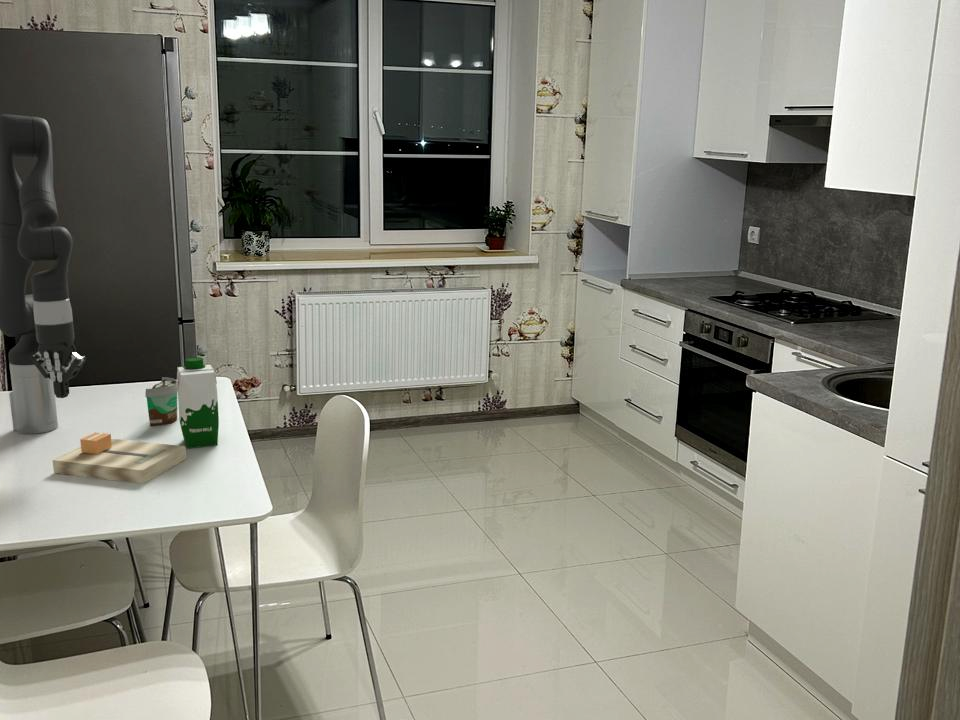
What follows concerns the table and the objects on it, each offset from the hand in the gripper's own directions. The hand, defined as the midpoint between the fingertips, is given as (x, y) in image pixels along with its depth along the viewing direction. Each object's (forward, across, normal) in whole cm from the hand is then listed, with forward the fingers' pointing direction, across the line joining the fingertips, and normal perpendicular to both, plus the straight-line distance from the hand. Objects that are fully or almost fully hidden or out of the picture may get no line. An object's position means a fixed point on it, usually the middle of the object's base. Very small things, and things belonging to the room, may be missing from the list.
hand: (62, 397), depth 201 cm
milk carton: (+15, -22, -19) cm, 32 cm away
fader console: (+15, -14, 0) cm, 20 cm away
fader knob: (+12, -8, 0) cm, 14 cm away
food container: (+15, -5, -32) cm, 35 cm away
